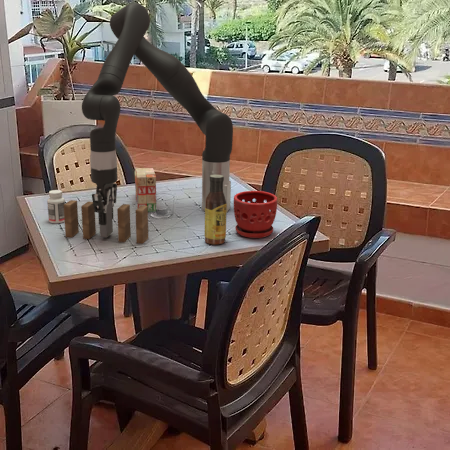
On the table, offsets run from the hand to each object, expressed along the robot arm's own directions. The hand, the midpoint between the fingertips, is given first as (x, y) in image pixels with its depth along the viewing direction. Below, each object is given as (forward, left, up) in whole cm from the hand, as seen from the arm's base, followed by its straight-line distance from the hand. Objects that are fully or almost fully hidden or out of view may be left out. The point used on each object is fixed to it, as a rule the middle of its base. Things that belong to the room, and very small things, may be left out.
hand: (106, 221), depth 192 cm
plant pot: (-42, -14, -5) cm, 45 cm away
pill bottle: (+21, -11, -5) cm, 24 cm away
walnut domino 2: (+5, 0, -5) cm, 7 cm away
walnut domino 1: (+11, 0, -5) cm, 12 cm away
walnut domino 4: (-11, 0, -5) cm, 12 cm away
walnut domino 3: (-6, 0, -5) cm, 7 cm away
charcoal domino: (0, 0, -4) cm, 4 cm away
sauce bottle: (-32, -4, -5) cm, 33 cm away
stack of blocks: (0, -38, -5) cm, 38 cm away
